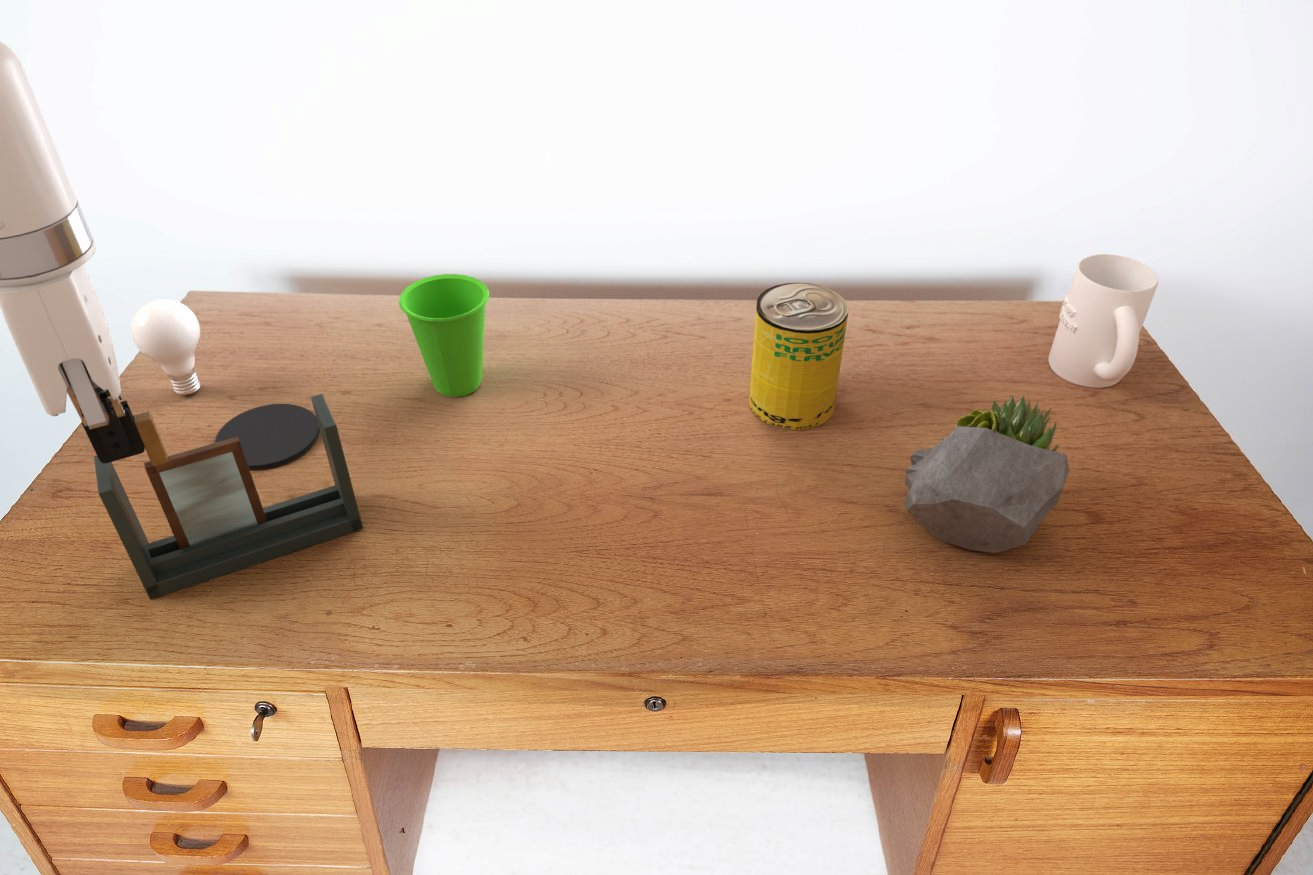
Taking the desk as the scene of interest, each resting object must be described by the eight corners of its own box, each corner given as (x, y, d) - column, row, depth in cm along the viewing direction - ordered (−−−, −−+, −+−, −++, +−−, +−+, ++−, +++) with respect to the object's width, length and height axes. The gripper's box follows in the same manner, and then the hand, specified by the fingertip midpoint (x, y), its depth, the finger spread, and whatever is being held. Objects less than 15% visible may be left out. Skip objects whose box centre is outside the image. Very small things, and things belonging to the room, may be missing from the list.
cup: (507, 362, 108) (497, 275, 101) (488, 411, 101) (476, 321, 94) (429, 357, 109) (413, 271, 102) (405, 406, 102) (386, 316, 95)
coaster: (225, 482, 92) (223, 477, 92) (208, 425, 99) (207, 420, 99) (330, 450, 96) (329, 446, 96) (307, 398, 103) (306, 393, 102)
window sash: (183, 558, 82) (125, 425, 73) (181, 549, 83) (124, 417, 74) (270, 530, 85) (224, 399, 76) (267, 522, 86) (222, 391, 77)
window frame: (150, 599, 81) (98, 493, 73) (143, 561, 84) (93, 456, 77) (363, 528, 87) (336, 424, 80) (349, 495, 91) (322, 393, 83)
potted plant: (867, 505, 85) (916, 382, 93) (964, 586, 89) (1004, 461, 96) (973, 473, 75) (1018, 338, 83) (1078, 566, 79) (1112, 428, 86)
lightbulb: (175, 373, 106) (142, 285, 99) (230, 377, 106) (201, 289, 99) (145, 407, 101) (108, 318, 94) (203, 412, 101) (170, 322, 94)
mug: (1069, 410, 102) (1102, 312, 94) (1036, 347, 111) (1064, 253, 103) (1148, 411, 101) (1187, 313, 94) (1108, 347, 111) (1142, 254, 103)
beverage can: (851, 413, 101) (867, 314, 93) (781, 439, 98) (791, 340, 90) (800, 370, 107) (811, 274, 100) (732, 393, 104) (738, 296, 96)
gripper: (-39, 206, 67) (64, 414, 79) (-42, 306, 57) (76, 528, 69) (80, 184, 70) (162, 388, 82) (97, 275, 60) (188, 494, 71)
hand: (122, 452), depth 75 cm, fingers closed
